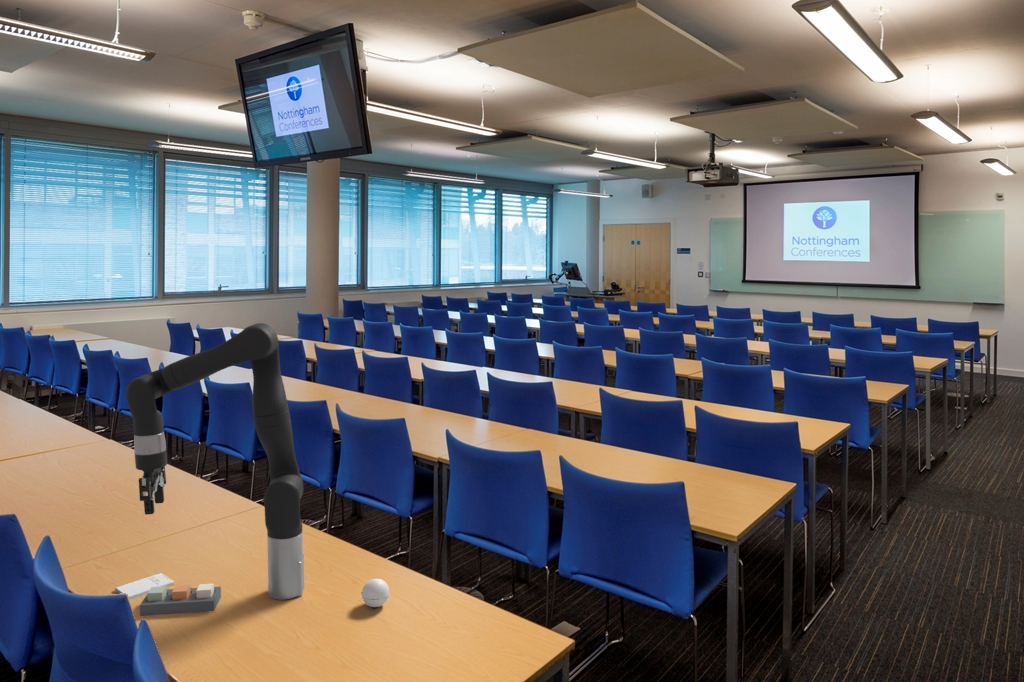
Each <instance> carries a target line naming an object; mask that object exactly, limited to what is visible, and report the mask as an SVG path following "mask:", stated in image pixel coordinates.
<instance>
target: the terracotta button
mask: <svg viewBox="0 0 1024 682" xmlns="http://www.w3.org/2000/svg"><path fill="white" fill-rule="evenodd" d="M190 588H191V584H181V585H180V584H179V585H175V587H174V588H173V589H174V590H173V591H172V600H180V599H188V598H189V596H190V595H191V591H190Z"/></svg>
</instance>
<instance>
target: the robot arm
mask: <svg viewBox="0 0 1024 682" xmlns="http://www.w3.org/2000/svg"><path fill="white" fill-rule="evenodd" d="M278 338H279V337H278V334H277V333H276V331H275V329H274V328H273V327H272V326H271V325H269V324H267V323H264V322H257V323H253V324H251V325H249V326H247V327H245V328H243V329H242V331H240V332H239V333H237V334H235V335H234V336H233V337H231V338H229V339H228V340H225V341H224V342H223V343H220V344H218V345H217V346H216V345H215V346H214V347H212V348H209V349H206V350H203V351H200V352H198V353H193V354H192V355H191V354H190V355H189V356H186V357H184V358H181V359H180V360H177V361H174V362H171V363H169V364H168V365H165V367H162V368H160V369H157V370H156V369H155V370H154V371H151V372H149V373H146V374H144V375H140V376H139V377H136V378H134V379H132V380H131V381H130V382H129V383H128V384H127V388H126V400H127V404H128V408H129V411H130V414H131V416H132V421H133V437H134V439H133V450H134V462H135V463H134V464H135V469H136V470H139V471H142V472H143V475H142V477H139V478H138V490H139V491H138V492H139V501H140V502H143V507H144V515H154V513H155V504H164V502H165V494H164V493H165V492H164V489H165V487H166V484H167V475H166V466H167V465H168V454H167V442H166V435H165V431H164V430H165V429H164V417H163V413H162V412H161V411H160V410H158V408H157V404H156V403H157V402H156V400H157V399H158V398H161V397H163V396H164V395H165V396H166V394H170V393H172V392H173V391H176V390H180V389H183V388H186V387H187V386H191V385H193V384H195V383H197V382H200V381H201V380H204V379H206V378H208V377H210V376H212V375H214V374H217V373H219V372H220V371H223V370H225V369H227V368H230V367H234V366H236V365H240V364H243V363H244V364H245V363H248V362H250V365H251V370H252V377H253V382H252V383H253V386H252V387H253V388H252V399H251V401H252V404H251V405H252V407H251V408H252V415H253V422H254V427H255V432H256V434H257V437H258V440H259V442H260V444H261V446H262V448H263V450H264V451H265V454H266V457H267V460H268V466H269V478H270V479H269V485H268V486H267V487H266V489H265V492H264V501H263V502H264V503H263V504H264V523H265V527H266V532H267V534H266V535H267V536H266V537H267V539H266V540H267V578H268V579H267V580H268V583H267V585H268V586H267V588H268V589H267V590H268V596H269V597H270V598H271V599H274V600H281V601H283V600H289V599H294V598H296V597H302V596H303V593H304V588H305V555H304V554H303V553H304V552H303V544H304V543H303V522H302V519H301V498H302V496H303V494H304V482H303V479H302V476H301V472H300V469H299V466H298V463H297V462H298V461H297V459H296V458H297V457H296V453H295V448H294V447H295V445H294V436H293V429H292V421H291V420H292V419H291V413H290V408H289V404H288V399H287V395H286V390H285V384H284V382H283V377H282V372H281V365H280V364H281V362H280V351H279V350H280V347H279V345H280V344H279V339H278Z"/></svg>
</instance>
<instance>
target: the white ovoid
mask: <svg viewBox="0 0 1024 682" xmlns="http://www.w3.org/2000/svg"><path fill="white" fill-rule="evenodd" d="M389 597H390V587H389V585H388V584H387V582H386V581H385V580H383V579H381V578H372V579H369V580H368V581H367V582H366V583H365V584H364V585H363V587H362V590H361V598H360V599H359V601H361V600H362V601H363V602H364V604H365V605H367V606H368V607H370V608H379V607H381V606H383V605H384V604H386V603H387V601H388V599H389Z"/></svg>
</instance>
